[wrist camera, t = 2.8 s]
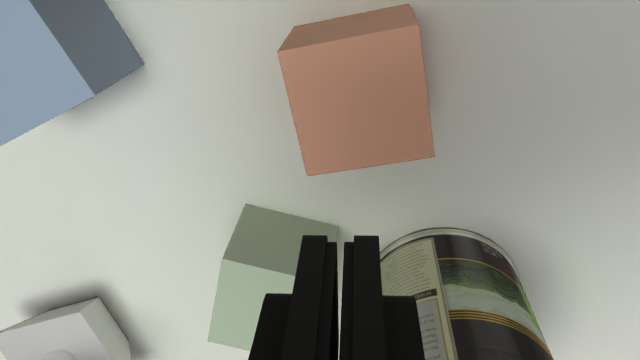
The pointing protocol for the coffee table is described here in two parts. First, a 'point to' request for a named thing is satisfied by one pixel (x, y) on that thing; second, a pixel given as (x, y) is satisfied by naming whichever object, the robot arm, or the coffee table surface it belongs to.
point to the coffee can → (463, 296)
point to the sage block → (258, 270)
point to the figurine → (67, 335)
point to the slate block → (56, 59)
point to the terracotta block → (358, 90)
